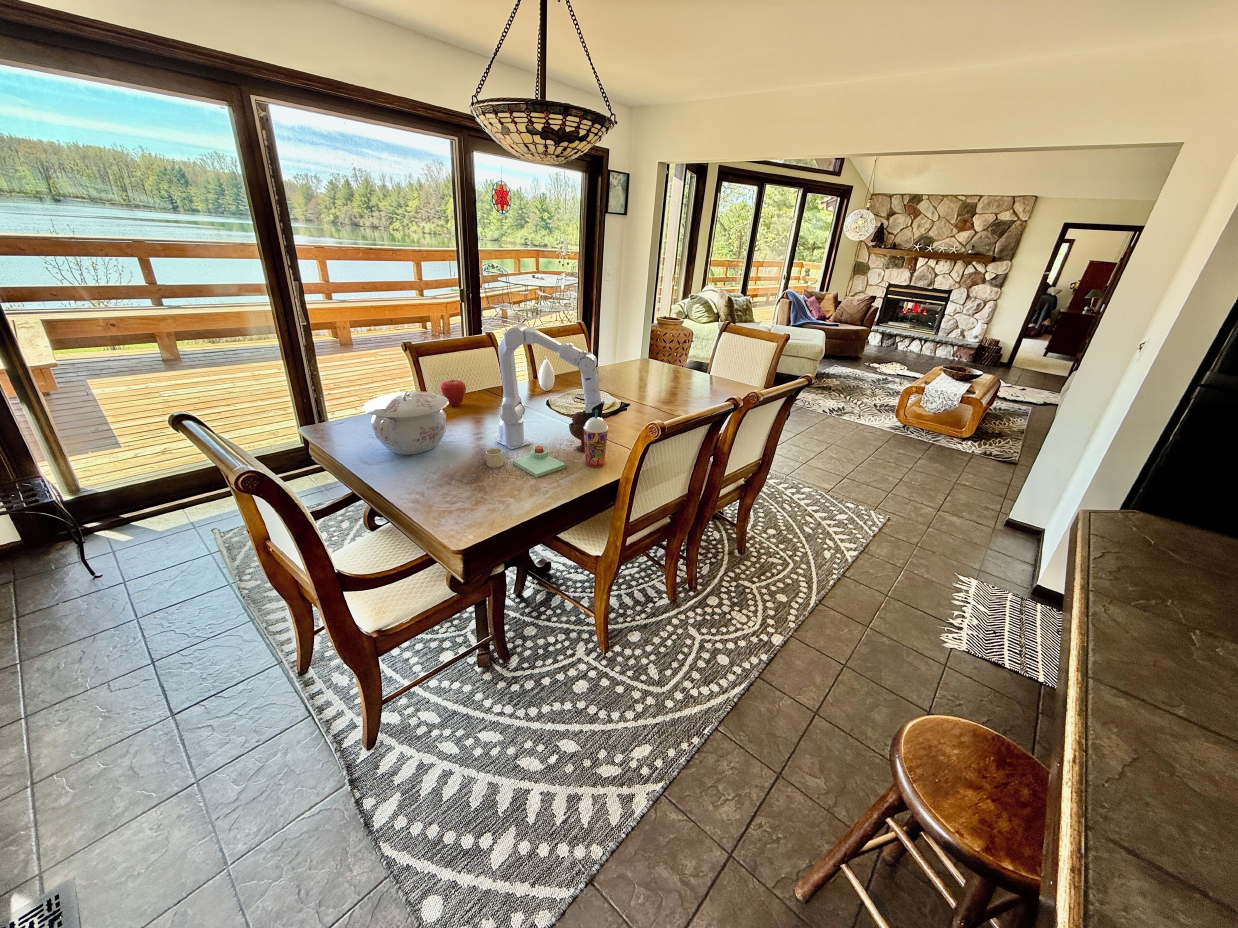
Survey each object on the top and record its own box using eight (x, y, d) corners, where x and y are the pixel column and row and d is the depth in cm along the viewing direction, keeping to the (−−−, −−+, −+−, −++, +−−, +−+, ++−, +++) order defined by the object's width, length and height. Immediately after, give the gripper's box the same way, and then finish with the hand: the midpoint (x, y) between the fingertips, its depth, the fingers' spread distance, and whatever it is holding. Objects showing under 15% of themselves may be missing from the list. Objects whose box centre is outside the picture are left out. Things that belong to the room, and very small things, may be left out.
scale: (511, 463, 166) (511, 455, 165) (541, 453, 174) (541, 446, 173) (536, 477, 157) (536, 469, 156) (566, 467, 165) (566, 459, 164)
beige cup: (483, 464, 164) (482, 450, 162) (497, 459, 168) (497, 446, 166) (492, 469, 161) (491, 456, 159) (506, 465, 164) (505, 451, 162)
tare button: (533, 451, 169) (533, 447, 168) (540, 449, 171) (540, 445, 170) (538, 454, 167) (538, 449, 167) (545, 452, 169) (545, 447, 168)
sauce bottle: (537, 391, 241) (536, 356, 234) (541, 387, 248) (541, 352, 241) (552, 393, 240) (551, 357, 233) (556, 389, 247) (556, 354, 239)
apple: (463, 409, 213) (460, 383, 207) (439, 408, 213) (435, 381, 207) (470, 401, 223) (468, 376, 217) (447, 400, 223) (444, 375, 217)
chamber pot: (431, 427, 192) (425, 377, 183) (467, 448, 175) (462, 394, 166) (358, 445, 173) (346, 390, 164) (390, 471, 157) (379, 410, 148)
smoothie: (597, 471, 163) (599, 415, 155) (578, 464, 167) (578, 410, 159) (611, 462, 170) (613, 409, 161) (591, 456, 174) (593, 404, 165)
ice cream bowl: (594, 456, 174) (595, 417, 167) (564, 453, 176) (564, 414, 169) (601, 445, 183) (602, 408, 177) (573, 442, 185) (573, 405, 179)
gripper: (597, 394, 161) (602, 432, 166) (606, 382, 174) (611, 418, 179) (577, 395, 162) (582, 432, 168) (588, 383, 175) (592, 418, 181)
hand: (596, 425), depth 174 cm, fingers open, 7 cm apart
